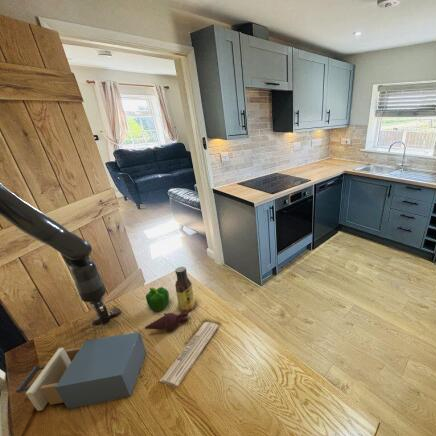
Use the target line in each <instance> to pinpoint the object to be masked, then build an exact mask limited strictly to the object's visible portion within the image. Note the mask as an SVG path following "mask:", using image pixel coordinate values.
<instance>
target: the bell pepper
mask: <svg viewBox="0 0 436 436" xmlns="http://www.w3.org/2000/svg"><path fill="white" fill-rule="evenodd" d="M145 300H146V304H147V305H148V307H149V308H150V309H151V310H152V311H154V312H161V311H163V310H164V309H166V308H167V306H168V304H169V302H170V292H169V291H168V289H166V288H165V287H162V286H161V287H158V288H155V287H149V291H148V293H146V295H145Z"/></svg>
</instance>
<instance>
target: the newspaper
mask: <svg viewBox="0 0 436 436" xmlns="http://www.w3.org/2000/svg"><path fill="white" fill-rule="evenodd" d="M202 324H203V325H202ZM202 324H201V325H200V327H199V328H198V329H199V330H198V329H197V330H196V332H195V333H194V335H193V336H192V337H191V338H190V339H189V341H188V342H187V343H186V345H185V346H184V348H183V349H182V350H181V351H180V353H179V354H178V356H176V358H175V359H174V360H173V362H172V363H171V365H170V366H169V367H168V368H167V370H166V371H165V372H164V373H163V375H162V377H160V379H159V380H158V382H159V383H163V384H166V385H168V386H171V387H175V388H178V387H179V386H180V384H181V383H182V382H183V380H184V379H185V377H186V376H187V373H189V371H190V370H191V368H192V367H193V365H194V364H195V362H196V360H198V358H199V357H200V355H201V353H202V352H203V351H204V349H205V347H206V346H207V345H208V343H209V341H210V340H211V338H212V337H213V335H214V334H215V333H216V331H217V330H218V328H219V324H217V323H214V322H211V321H205V322H203V323H202Z"/></svg>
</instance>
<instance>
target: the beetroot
mask: <svg viewBox="0 0 436 436" xmlns="http://www.w3.org/2000/svg"><path fill="white" fill-rule="evenodd" d="M188 315H189V312H182V311H181V312H180V313H179V314H176V313H175V312H167V313H166V312H165V313H164V314H163V316H161V317H160V318H157V319H156V320H154V321H153V322H151V323H149V324H147V325H146V326H145V327H144V330H158V331H159V330H160V331H165V332H166V333H168V331H169V332H170V331H173V330H175V328H177V326H179V325H180V324H184V323H187V322H189V318H188Z"/></svg>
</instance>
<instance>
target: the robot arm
mask: <svg viewBox="0 0 436 436" xmlns="http://www.w3.org/2000/svg"><path fill="white" fill-rule="evenodd" d="M0 217H2V218H3V219H5V220H6V221H8V223H10V224H11V225H13V226H14V227H15V228H17V229H18V230H20V231H21V232H23V233H24V234H26V235H27V236H29V237H31V238H32V239H34V240H37V241H38V242H40V243H42V244H45V245H46V246H49V247H51V248H52V249H54V250H55V251H57V252H58V253H60V255H61V257H62V259H63V260H64V262H65V264H66V265H67V266H68V268H69V270H70V274H71V276H72V278H73V280H74V285H75V288H76V290H77V292H78V295H79V297H80V299H81V301H82V302H84V303H89V305H90V306H91V308H92V309H93V310H94V313H95V314H96V316H97V318H98V317H99V318H100V319H101V324H102V325H103V326H105V325H108V324H109V323H110V318H108V316H109V314H108V308H107V305H106V304H105V299H104V298H103V296H105V294H106V293H107V289H106V287H105V284H104V281H103V278H102V276H101V274H100V273H99V270H98V267H97V264H96V262H95V261H94V260H93V259H92V258H91V257H90V256H91V254H92V252H93V247H92V245H91V243H89V242H88V241H87V240H85V239H84V238H82V237H80V236H78V235H77V234H75V233H73V232H71V231H69V229H67V228H66V227H65V226H63V224H60V223H59V222H57V221H56V220H54V219H53V218H51V217H50V216H48V215H47V214H45V213H44V212H42V211H40V210H39V209H37V208H35V207H34V206H32V205H31V204H29V203H28V202H26V201H24V200H23V199H22V198H20V197H19V196H18V195H16V194H15V193H14V192H12V191H10V190H9V189H8V188H6V186H4V185H3V184H2V183H0Z"/></svg>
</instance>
